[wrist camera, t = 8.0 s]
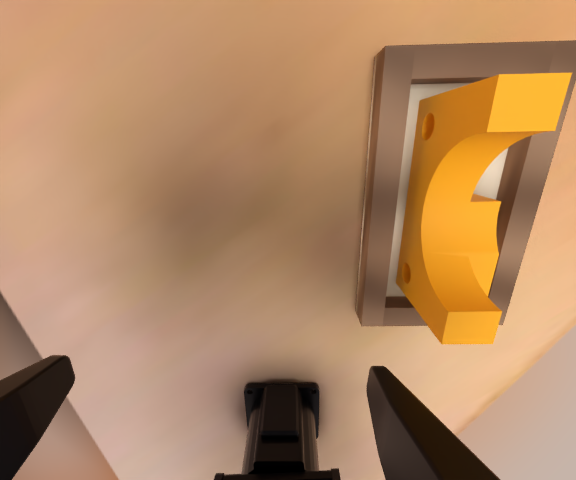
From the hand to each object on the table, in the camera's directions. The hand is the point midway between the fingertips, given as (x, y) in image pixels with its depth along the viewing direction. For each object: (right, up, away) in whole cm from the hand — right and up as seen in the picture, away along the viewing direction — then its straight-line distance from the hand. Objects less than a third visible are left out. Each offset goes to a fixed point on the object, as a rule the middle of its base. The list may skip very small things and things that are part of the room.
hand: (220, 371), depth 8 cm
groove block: (+12, +6, +10) cm, 17 cm away
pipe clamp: (+12, +7, +10) cm, 17 cm away
